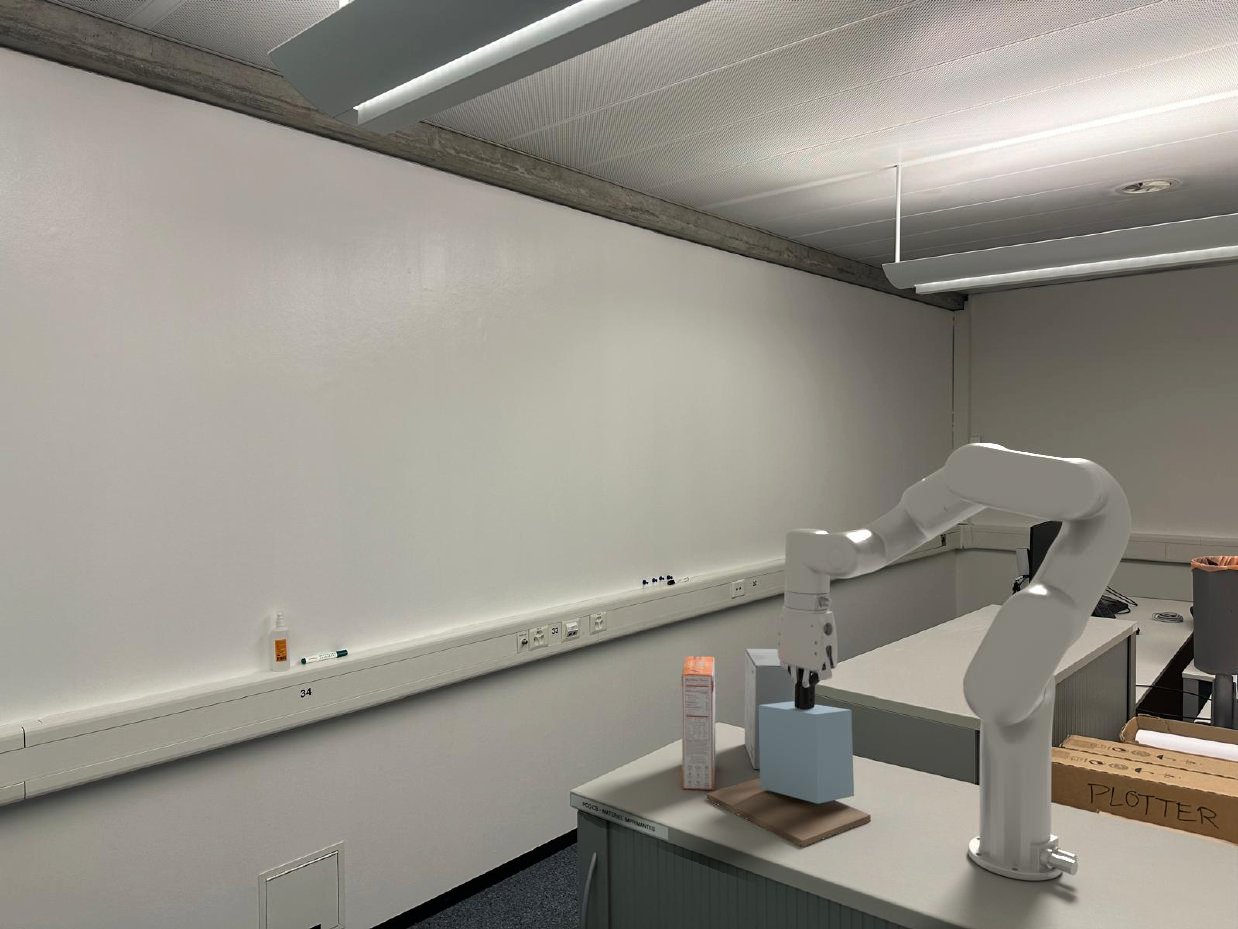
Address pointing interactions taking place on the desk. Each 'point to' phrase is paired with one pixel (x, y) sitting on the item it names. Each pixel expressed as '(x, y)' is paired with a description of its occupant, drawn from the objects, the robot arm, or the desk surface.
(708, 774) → the cracker box
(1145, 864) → the desk surface
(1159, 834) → the desk surface
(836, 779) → the carton
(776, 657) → the hard drive box
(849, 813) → the thin wooden board
